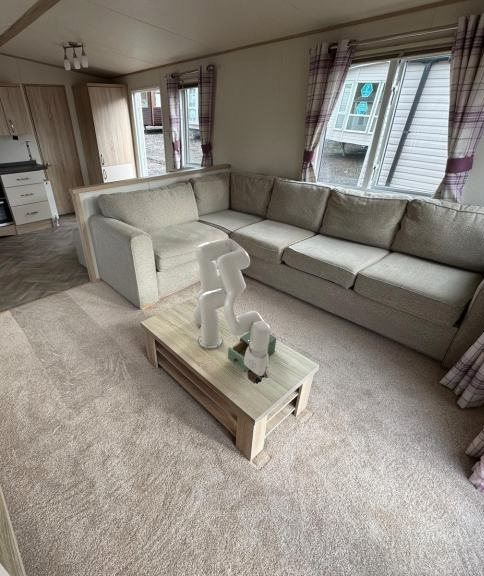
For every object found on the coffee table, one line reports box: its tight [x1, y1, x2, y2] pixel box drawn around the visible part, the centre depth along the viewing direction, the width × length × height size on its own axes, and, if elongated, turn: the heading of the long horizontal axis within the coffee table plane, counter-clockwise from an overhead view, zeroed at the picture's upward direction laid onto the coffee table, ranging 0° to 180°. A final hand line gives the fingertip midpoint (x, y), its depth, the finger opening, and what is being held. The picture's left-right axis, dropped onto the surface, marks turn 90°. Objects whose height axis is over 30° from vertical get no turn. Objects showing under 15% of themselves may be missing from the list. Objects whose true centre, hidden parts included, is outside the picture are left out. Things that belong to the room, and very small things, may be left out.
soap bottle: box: [192, 288, 219, 326], centre depth 173 cm, size 17×12×29 cm
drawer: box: [227, 341, 249, 372], centre depth 150 cm, size 14×11×7 cm
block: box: [247, 370, 258, 385], centre depth 132 cm, size 4×4×4 cm
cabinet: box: [239, 331, 277, 356], centre depth 156 cm, size 14×13×9 cm
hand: (254, 378), depth 133 cm, fingers closed on block, 4 cm apart
